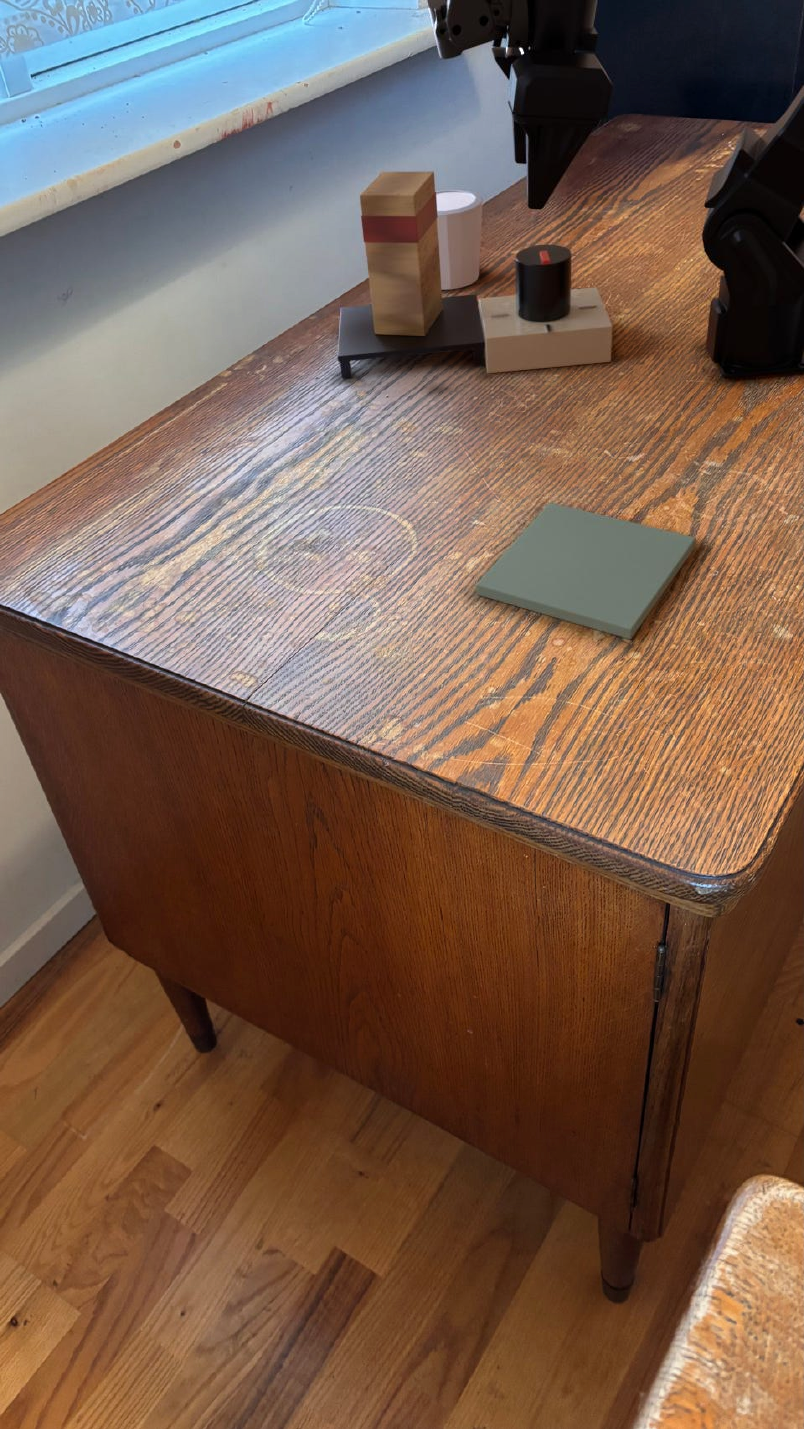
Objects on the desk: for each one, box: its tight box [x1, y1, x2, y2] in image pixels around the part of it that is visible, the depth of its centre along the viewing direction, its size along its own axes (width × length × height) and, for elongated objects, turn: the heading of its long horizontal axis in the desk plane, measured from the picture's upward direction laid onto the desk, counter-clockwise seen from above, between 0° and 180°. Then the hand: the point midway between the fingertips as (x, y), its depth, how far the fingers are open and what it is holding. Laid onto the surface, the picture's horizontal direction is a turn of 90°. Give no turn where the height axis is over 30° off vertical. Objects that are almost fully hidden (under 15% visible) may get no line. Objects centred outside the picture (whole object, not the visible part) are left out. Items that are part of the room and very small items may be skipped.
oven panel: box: [478, 286, 614, 374], centre depth 87 cm, size 10×9×3 cm
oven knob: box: [514, 244, 572, 322], centre depth 84 cm, size 4×4×5 cm
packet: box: [359, 171, 443, 336], centre depth 85 cm, size 4×6×11 cm
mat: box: [475, 502, 697, 640], centre depth 64 cm, size 10×10×1 cm
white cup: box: [435, 189, 484, 290], centre depth 98 cm, size 7×7×7 cm
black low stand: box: [337, 294, 485, 379], centre depth 89 cm, size 12×10×2 cm
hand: (528, 185), depth 79 cm, fingers open, 9 cm apart
